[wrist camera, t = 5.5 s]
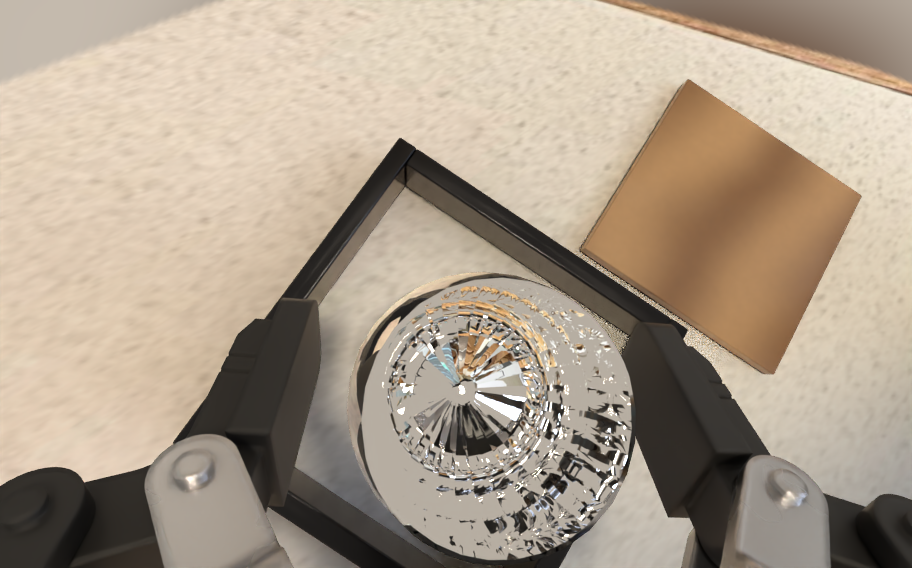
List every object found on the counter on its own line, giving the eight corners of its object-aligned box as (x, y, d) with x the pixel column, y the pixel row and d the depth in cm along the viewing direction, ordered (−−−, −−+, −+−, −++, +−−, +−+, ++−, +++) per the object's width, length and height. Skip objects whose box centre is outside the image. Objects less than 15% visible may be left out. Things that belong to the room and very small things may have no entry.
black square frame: (655, 332, 21) (688, 329, 18) (493, 624, 18) (507, 665, 16) (400, 162, 21) (399, 136, 18) (202, 431, 18) (171, 443, 16)
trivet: (851, 199, 23) (862, 195, 22) (764, 374, 21) (774, 375, 21) (681, 85, 23) (688, 78, 22) (579, 250, 21) (584, 247, 21)
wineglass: (528, 427, 20) (714, 536, 8) (394, 469, 19) (375, 661, 7) (490, 295, 20) (608, 211, 9) (358, 330, 20) (288, 292, 8)
